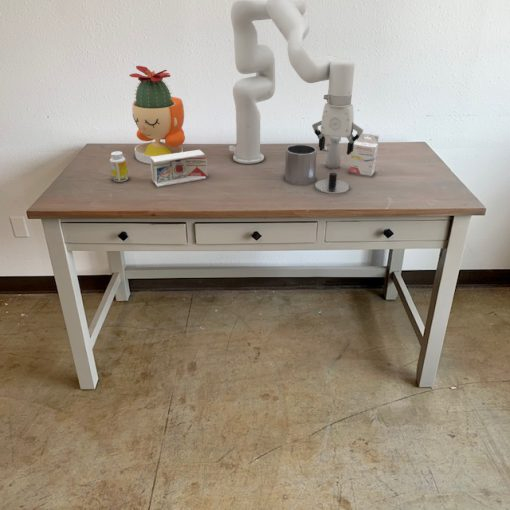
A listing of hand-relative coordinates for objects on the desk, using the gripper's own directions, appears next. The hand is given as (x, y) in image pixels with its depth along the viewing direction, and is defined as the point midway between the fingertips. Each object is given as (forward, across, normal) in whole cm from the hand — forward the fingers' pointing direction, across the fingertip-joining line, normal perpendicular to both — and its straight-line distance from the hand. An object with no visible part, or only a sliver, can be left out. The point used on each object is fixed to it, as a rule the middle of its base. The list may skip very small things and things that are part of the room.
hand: (335, 151), depth 164 cm
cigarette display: (+13, -53, -17) cm, 57 cm away
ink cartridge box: (+14, +5, +19) cm, 24 cm away
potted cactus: (+13, -75, +2) cm, 76 cm away
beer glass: (+13, -16, +41) cm, 46 cm away
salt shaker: (+14, -7, +20) cm, 25 cm away
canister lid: (+13, 0, 0) cm, 13 cm away
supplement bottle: (+13, -73, -27) cm, 79 cm away
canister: (+13, -14, +3) cm, 19 cm away
